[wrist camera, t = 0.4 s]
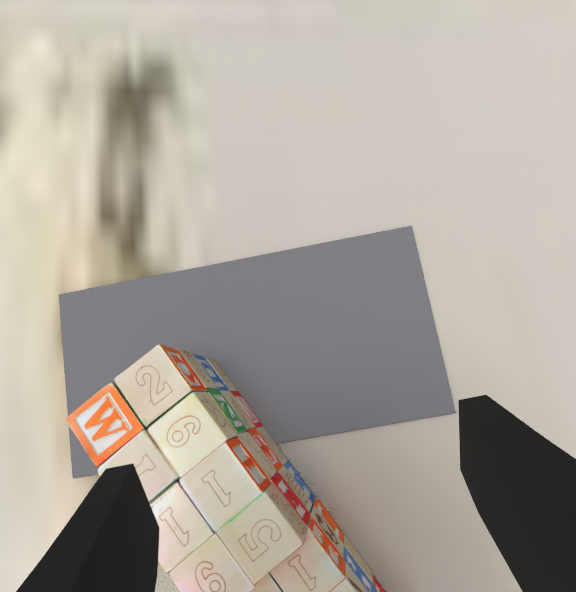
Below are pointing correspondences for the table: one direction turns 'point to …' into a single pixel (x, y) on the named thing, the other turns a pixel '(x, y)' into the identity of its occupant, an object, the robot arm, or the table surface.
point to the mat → (277, 335)
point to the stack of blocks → (216, 482)
